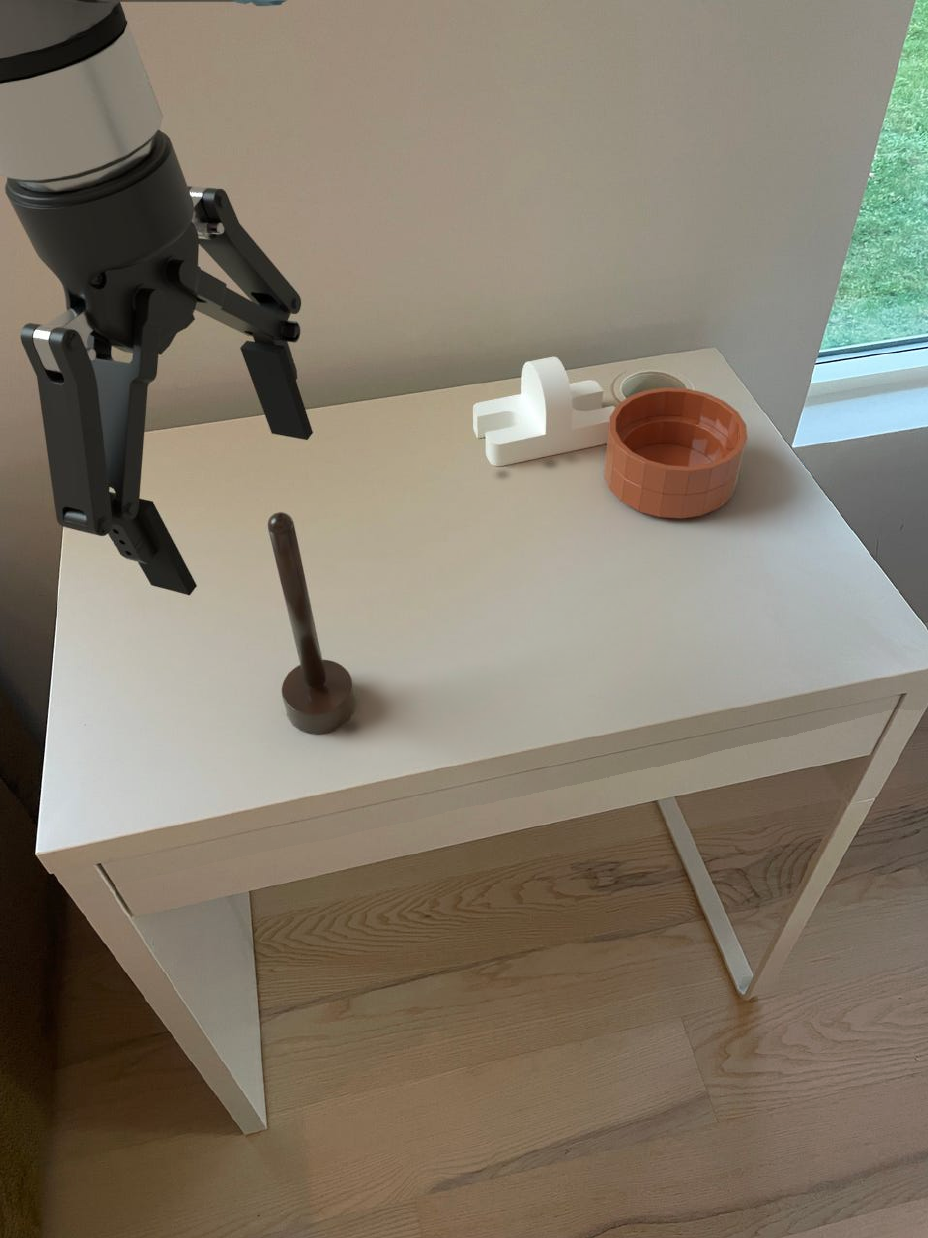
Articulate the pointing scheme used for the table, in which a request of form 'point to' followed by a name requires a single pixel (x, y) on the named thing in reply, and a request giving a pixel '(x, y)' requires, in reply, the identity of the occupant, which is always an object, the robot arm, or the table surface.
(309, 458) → the table surface
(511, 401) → the slotted bracket
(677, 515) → the bowl
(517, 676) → the table surface
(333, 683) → the dark brown post
